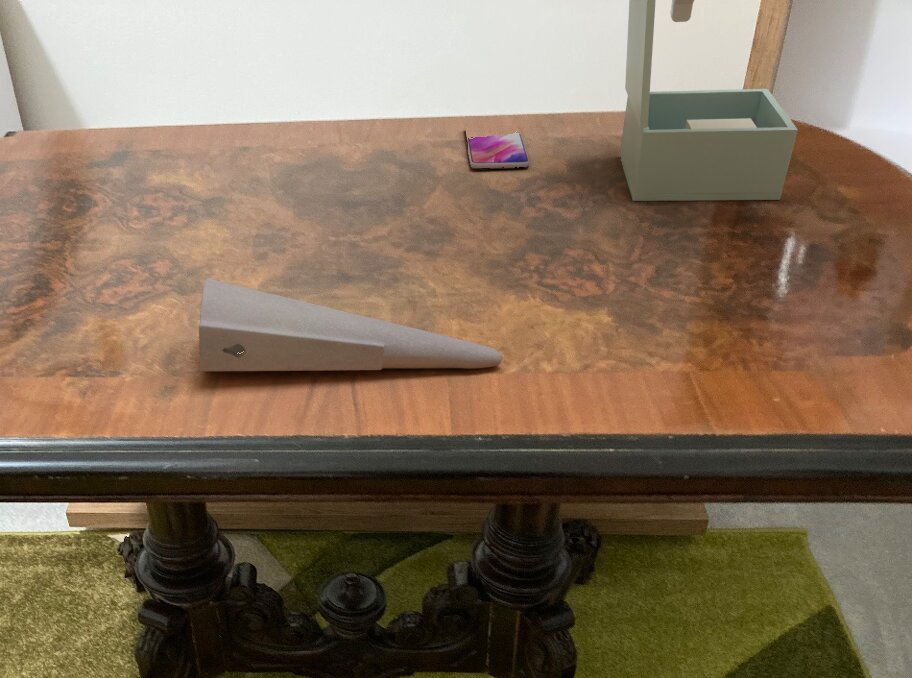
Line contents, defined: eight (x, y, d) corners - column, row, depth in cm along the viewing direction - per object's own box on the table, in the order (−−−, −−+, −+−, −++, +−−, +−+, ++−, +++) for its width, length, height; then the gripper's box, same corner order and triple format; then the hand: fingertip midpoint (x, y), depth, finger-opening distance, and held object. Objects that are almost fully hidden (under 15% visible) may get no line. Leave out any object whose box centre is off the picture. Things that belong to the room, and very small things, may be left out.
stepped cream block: (745, 162, 108) (755, 117, 105) (754, 177, 104) (764, 131, 101) (647, 163, 110) (654, 119, 107) (653, 178, 106) (660, 133, 103)
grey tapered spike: (496, 277, 83) (209, 262, 82) (511, 325, 76) (197, 308, 75) (482, 351, 87) (210, 337, 87) (495, 402, 80) (200, 387, 80)
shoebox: (752, 154, 112) (767, 88, 107) (780, 200, 101) (798, 129, 96) (619, 156, 114) (628, 92, 109) (632, 201, 104) (643, 132, 99)
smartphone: (517, 120, 124) (530, 162, 112) (517, 127, 125) (529, 169, 113) (463, 122, 125) (470, 163, 113) (463, 128, 125) (470, 170, 113)
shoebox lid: (640, -68, 99) (592, -61, 100) (658, -42, 89) (605, -34, 90) (632, 87, 109) (589, 92, 110) (647, 127, 99) (600, 132, 100)
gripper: (755, -135, 80) (723, 33, 89) (711, -160, 96) (687, -15, 105) (679, -130, 81) (654, 36, 90) (648, -155, 97) (630, -12, 106)
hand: (672, 8), depth 97 cm, fingers open, 8 cm apart
